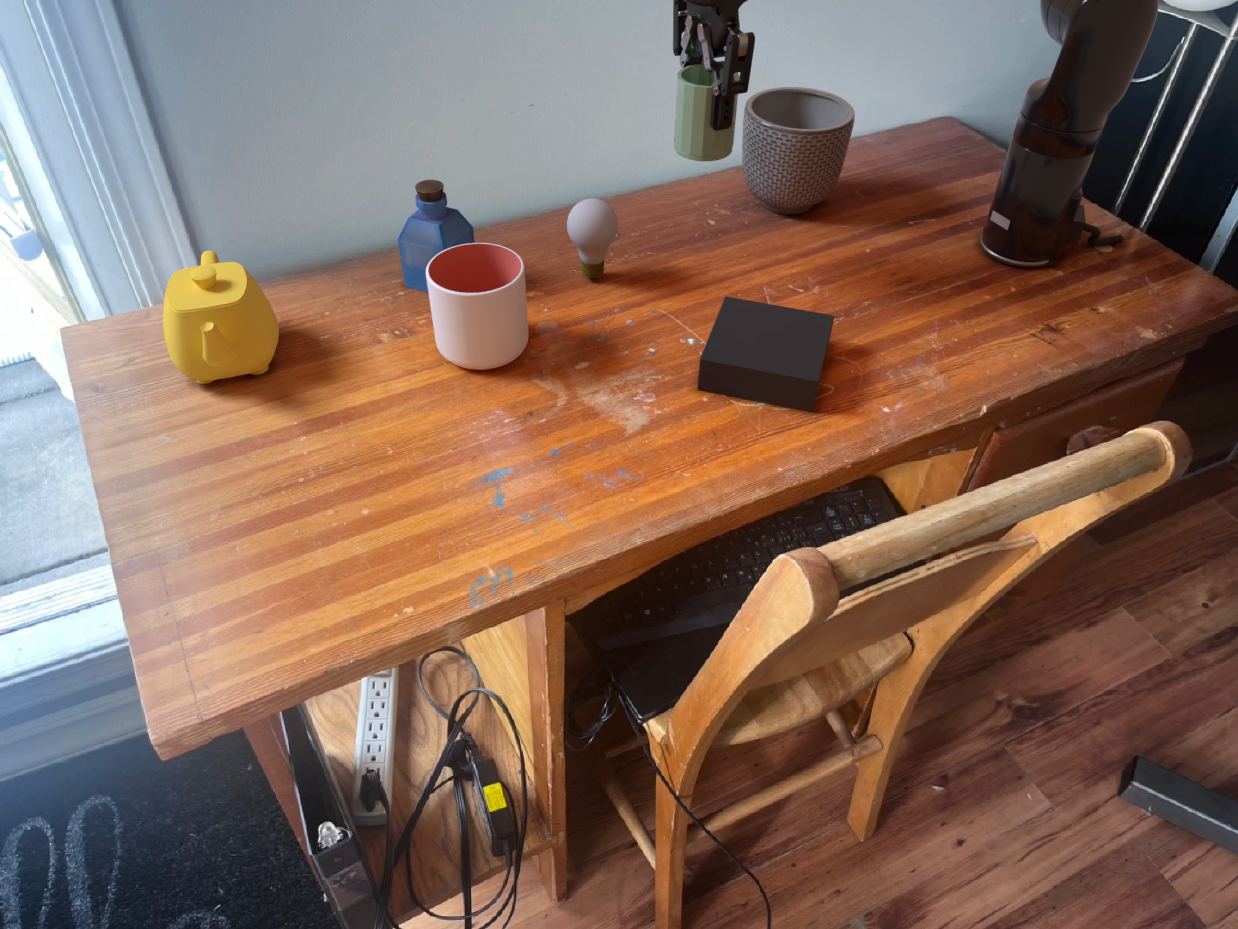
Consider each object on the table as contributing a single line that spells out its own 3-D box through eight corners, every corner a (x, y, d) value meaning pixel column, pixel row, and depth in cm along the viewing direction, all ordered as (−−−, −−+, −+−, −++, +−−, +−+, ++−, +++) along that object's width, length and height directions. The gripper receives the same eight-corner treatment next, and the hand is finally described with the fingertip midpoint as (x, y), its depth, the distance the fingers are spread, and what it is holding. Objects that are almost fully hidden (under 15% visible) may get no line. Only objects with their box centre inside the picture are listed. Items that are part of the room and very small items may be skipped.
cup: (514, 381, 99) (508, 300, 92) (423, 368, 100) (410, 287, 93) (539, 327, 106) (535, 248, 99) (454, 315, 107) (444, 237, 100)
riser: (828, 345, 104) (834, 315, 101) (812, 412, 96) (818, 381, 93) (722, 326, 106) (725, 295, 104) (697, 389, 98) (699, 358, 95)
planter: (728, 220, 124) (738, 124, 115) (741, 173, 134) (751, 81, 125) (834, 234, 122) (853, 137, 113) (840, 184, 131) (858, 91, 123)
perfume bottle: (477, 273, 114) (468, 180, 105) (450, 298, 110) (437, 204, 101) (434, 261, 116) (421, 168, 107) (405, 286, 111) (389, 192, 103)
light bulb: (627, 277, 113) (629, 201, 107) (593, 297, 110) (592, 219, 103) (592, 259, 116) (591, 183, 109) (558, 277, 113) (555, 201, 106)
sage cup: (738, 140, 105) (745, 67, 100) (724, 165, 101) (731, 90, 95) (682, 132, 107) (686, 60, 101) (667, 156, 102) (670, 82, 97)
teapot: (291, 403, 95) (265, 315, 88) (176, 425, 93) (139, 336, 85) (279, 307, 108) (256, 223, 100) (177, 324, 105) (145, 238, 98)
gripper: (789, -40, 86) (768, 136, 97) (719, -80, 96) (707, 85, 107) (715, -31, 84) (703, 148, 95) (651, -73, 94) (647, 95, 105)
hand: (705, 114), depth 101 cm, fingers closed on sage cup, 6 cm apart
